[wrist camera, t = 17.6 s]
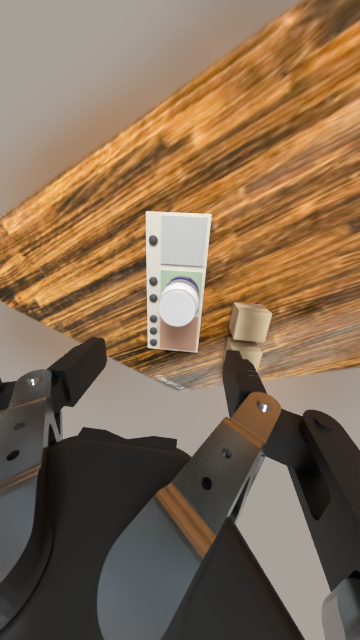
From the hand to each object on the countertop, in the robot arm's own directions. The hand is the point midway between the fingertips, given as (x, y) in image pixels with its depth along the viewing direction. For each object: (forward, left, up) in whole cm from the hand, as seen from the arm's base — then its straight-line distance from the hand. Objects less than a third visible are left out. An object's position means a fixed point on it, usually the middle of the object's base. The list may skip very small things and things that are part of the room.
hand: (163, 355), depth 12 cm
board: (+2, +1, -22) cm, 22 cm away
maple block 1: (-11, +5, -22) cm, 26 cm away
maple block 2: (-11, +12, -22) cm, 28 cm away
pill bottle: (0, +1, -21) cm, 21 cm away
